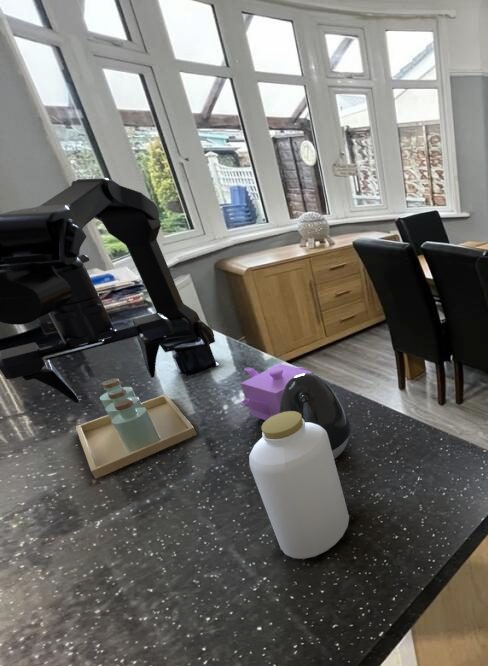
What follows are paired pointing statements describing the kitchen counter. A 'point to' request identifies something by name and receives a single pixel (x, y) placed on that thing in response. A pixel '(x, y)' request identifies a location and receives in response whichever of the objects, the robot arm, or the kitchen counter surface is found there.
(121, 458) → the tray
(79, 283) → the robot arm
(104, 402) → the row bottle
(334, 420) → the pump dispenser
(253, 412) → the teapot
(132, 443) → the loose bottle
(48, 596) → the kitchen counter surface
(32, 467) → the kitchen counter surface
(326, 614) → the kitchen counter surface
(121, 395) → the row bottle
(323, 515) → the white jar with lid
